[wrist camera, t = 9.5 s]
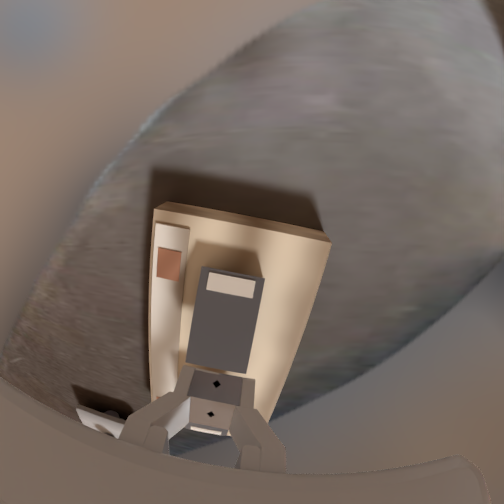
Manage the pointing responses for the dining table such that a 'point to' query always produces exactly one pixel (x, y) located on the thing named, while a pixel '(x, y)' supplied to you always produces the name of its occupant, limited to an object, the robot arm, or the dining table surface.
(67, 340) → the dining table surface
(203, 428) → the plate
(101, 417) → the light switch
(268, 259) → the switch panel
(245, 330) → the plate
